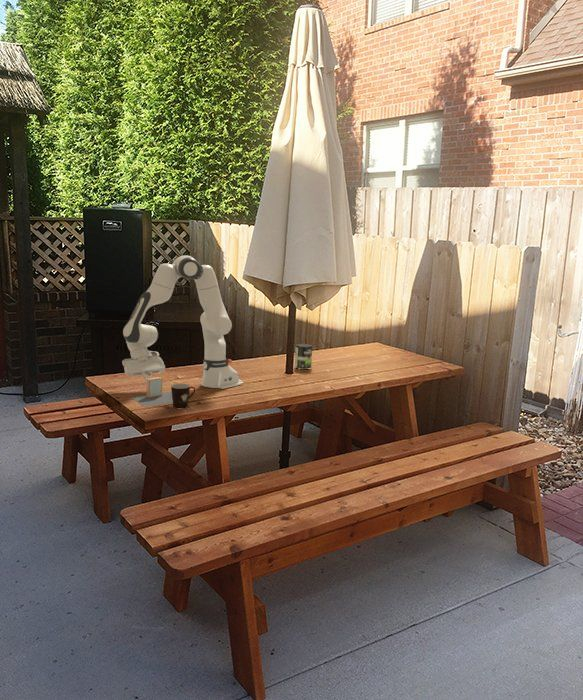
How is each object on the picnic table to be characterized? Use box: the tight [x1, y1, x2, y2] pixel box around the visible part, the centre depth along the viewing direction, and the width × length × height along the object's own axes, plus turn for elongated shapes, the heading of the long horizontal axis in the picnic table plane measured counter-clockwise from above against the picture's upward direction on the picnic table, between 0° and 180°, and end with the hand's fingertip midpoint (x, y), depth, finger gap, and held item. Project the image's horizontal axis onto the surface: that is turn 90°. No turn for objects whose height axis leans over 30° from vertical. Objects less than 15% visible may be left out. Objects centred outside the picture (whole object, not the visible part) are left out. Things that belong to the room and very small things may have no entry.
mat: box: [129, 390, 173, 408], centre depth 307 cm, size 22×18×1 cm
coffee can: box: [294, 343, 313, 370], centre depth 382 cm, size 10×10×14 cm
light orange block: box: [146, 376, 163, 398], centre depth 310 cm, size 7×3×9 cm, turn 126°
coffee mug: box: [170, 383, 196, 409], centre depth 297 cm, size 12×9×10 cm
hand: (149, 380), depth 314 cm, fingers closed
